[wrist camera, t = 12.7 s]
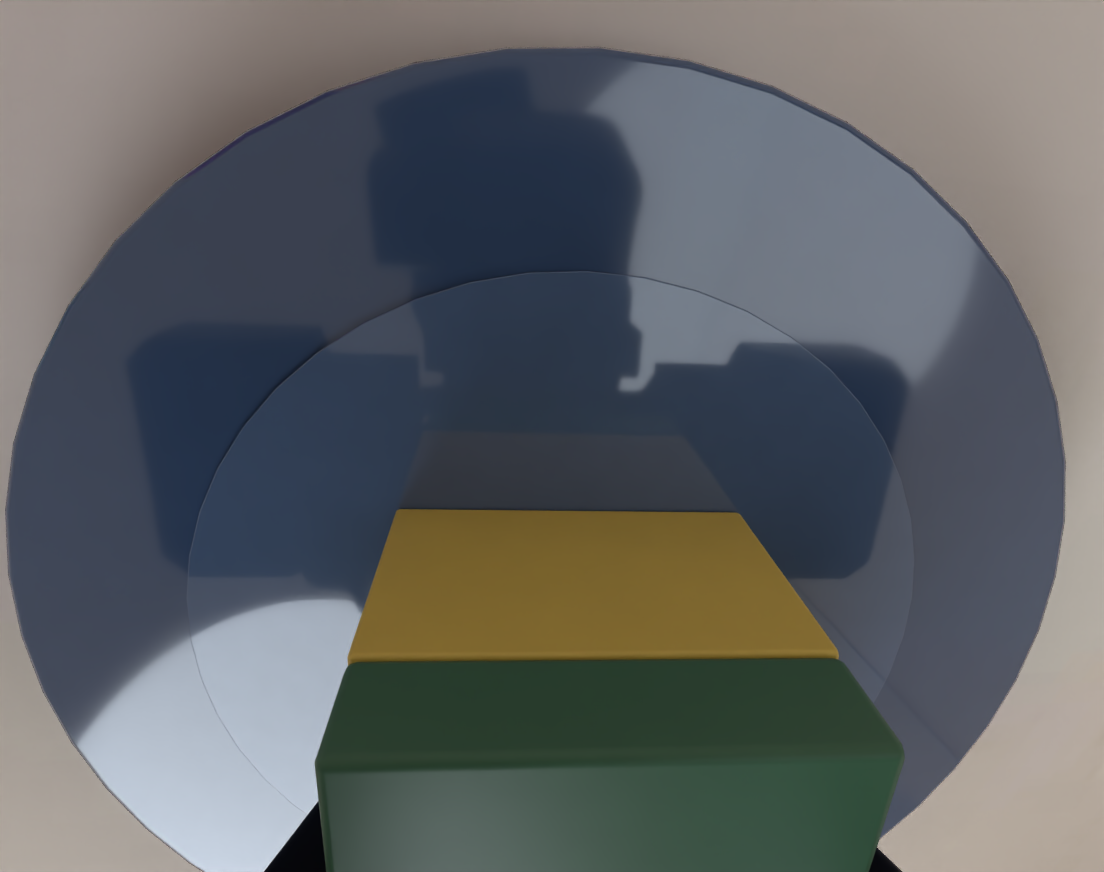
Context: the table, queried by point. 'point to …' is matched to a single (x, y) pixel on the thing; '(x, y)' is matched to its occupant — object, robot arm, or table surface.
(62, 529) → the plate
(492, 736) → the sponge
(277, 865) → the robot arm
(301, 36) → the table surface
